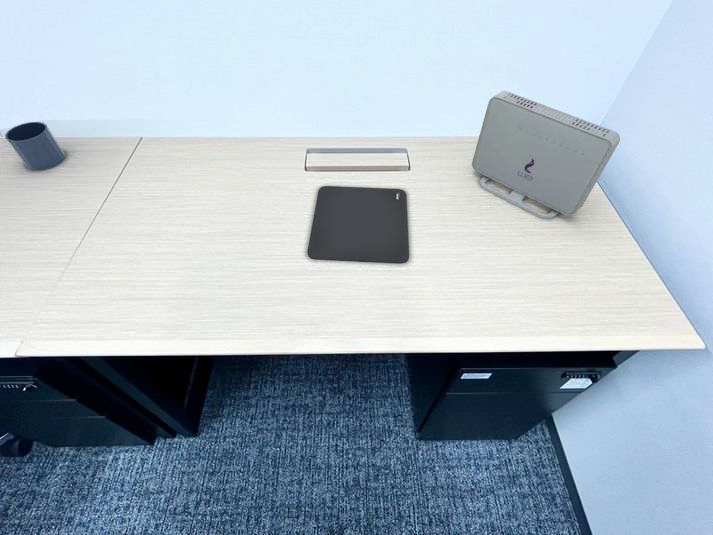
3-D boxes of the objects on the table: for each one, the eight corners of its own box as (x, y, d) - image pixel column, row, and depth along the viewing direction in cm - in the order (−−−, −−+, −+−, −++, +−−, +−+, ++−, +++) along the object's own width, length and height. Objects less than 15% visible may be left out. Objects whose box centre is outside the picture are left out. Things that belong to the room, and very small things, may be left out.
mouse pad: (409, 263, 78) (409, 262, 78) (306, 259, 79) (306, 258, 78) (405, 190, 93) (406, 189, 93) (319, 186, 93) (319, 185, 93)
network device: (463, 178, 96) (484, 98, 81) (482, 163, 100) (506, 84, 85) (564, 230, 85) (611, 147, 70) (581, 210, 89) (629, 128, 74)
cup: (27, 174, 95) (5, 145, 89) (26, 156, 100) (5, 127, 94) (66, 164, 98) (48, 135, 92) (63, 147, 103) (45, 118, 97)
